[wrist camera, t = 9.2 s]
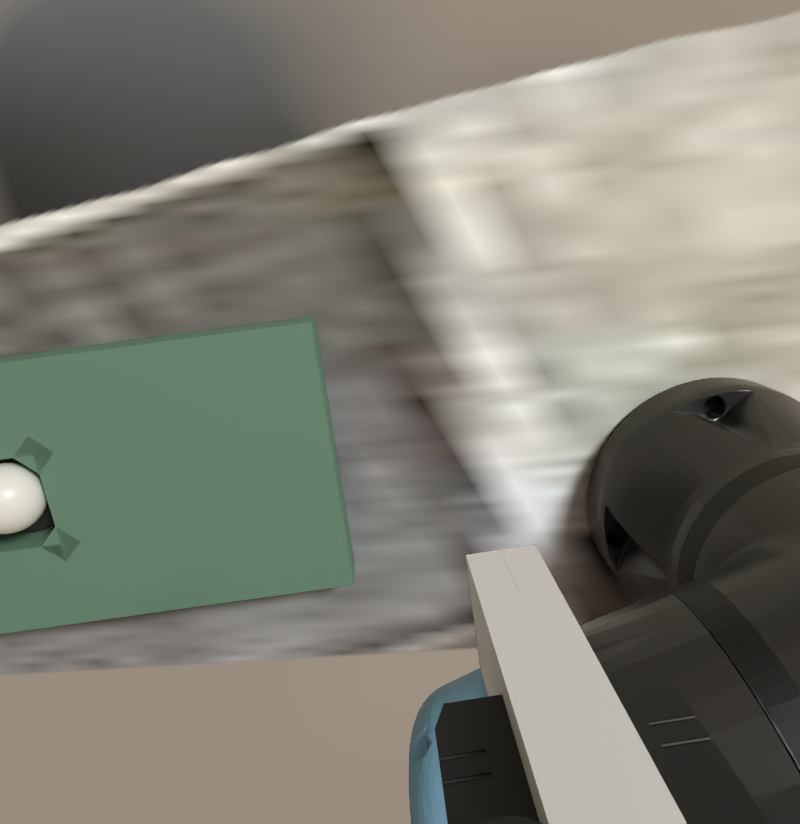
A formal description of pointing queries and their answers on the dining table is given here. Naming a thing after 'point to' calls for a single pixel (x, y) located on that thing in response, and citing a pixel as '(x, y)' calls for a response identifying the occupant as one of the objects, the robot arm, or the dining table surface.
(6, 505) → the golf ball
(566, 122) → the dining table surface
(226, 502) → the putting mat
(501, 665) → the robot arm
